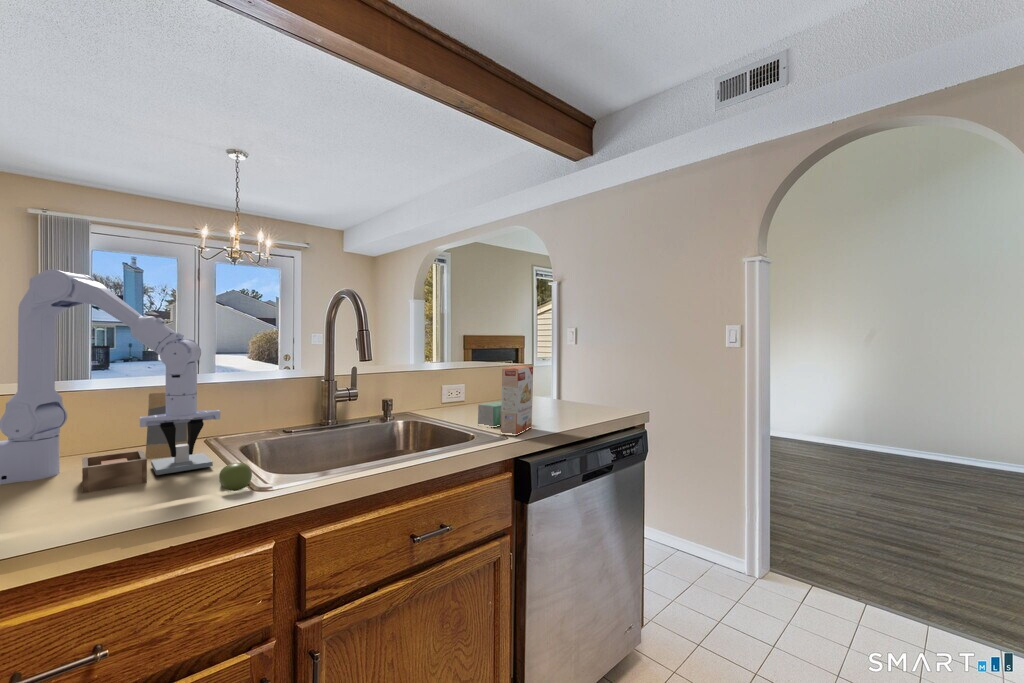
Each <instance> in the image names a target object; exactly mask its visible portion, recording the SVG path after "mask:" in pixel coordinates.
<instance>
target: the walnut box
mask: <svg viewBox="0 0 1024 683" xmlns="http://www.w3.org/2000/svg"><path fill="white" fill-rule="evenodd" d="M123 458H127V461H124V462H116V463H109V464H102V465H101V461H108V460H116V459H123ZM147 461H148V459H146V453H145V452H144V450H143V449H140V450H137V449H136V450H131V451H123V452H117V453H116V452H115V453H108V454H99V455H92V456H84V457H82V458H81V462H82V465H81V470H82V471H81V475H82V476H81V478H82V483H81V484H82V485H81V486H82V488H81V489H82V494H86V493H92V492H98V491H105V490H111V489H116V488H123V487H129V486H133V485H134V486H135V485H141V484H145V483H147V482H148V470H147V469H148V464H147V463H148V462H147Z"/></svg>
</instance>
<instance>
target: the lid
mask: <svg viewBox="0 0 1024 683" xmlns="http://www.w3.org/2000/svg"><path fill="white" fill-rule="evenodd" d="M213 462H214V461H213V460H212V459H211V458H210V457H209V456H208V455H207V454H206V453H205V452H201V453H200V452H199V453H193V454H192V455H189V445H188V444H179V445H176V457H172V456H171V457H163V458H155V459H150V465H151V468H152V469H153V471H154V473H155V475H156V476H160V475H165V474H173V473H179V472H184V471H191V470H197V469H203V468H210V467H213V464H214V463H213Z"/></svg>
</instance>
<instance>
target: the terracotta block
mask: <svg viewBox="0 0 1024 683" xmlns="http://www.w3.org/2000/svg"><path fill="white" fill-rule="evenodd" d="M124 461H127V458H123V459H116V460H108V461H101V465H102V464H109V463H116V462H124Z"/></svg>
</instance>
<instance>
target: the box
mask: <svg viewBox="0 0 1024 683" xmlns="http://www.w3.org/2000/svg"><path fill="white" fill-rule="evenodd" d="M501 402H502V400H501V401H494V402H489V403H480V404H478V407H477V409H478V410H477V416H478V417H477V425H478V424H484V425H489V426H497V425H501Z"/></svg>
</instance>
